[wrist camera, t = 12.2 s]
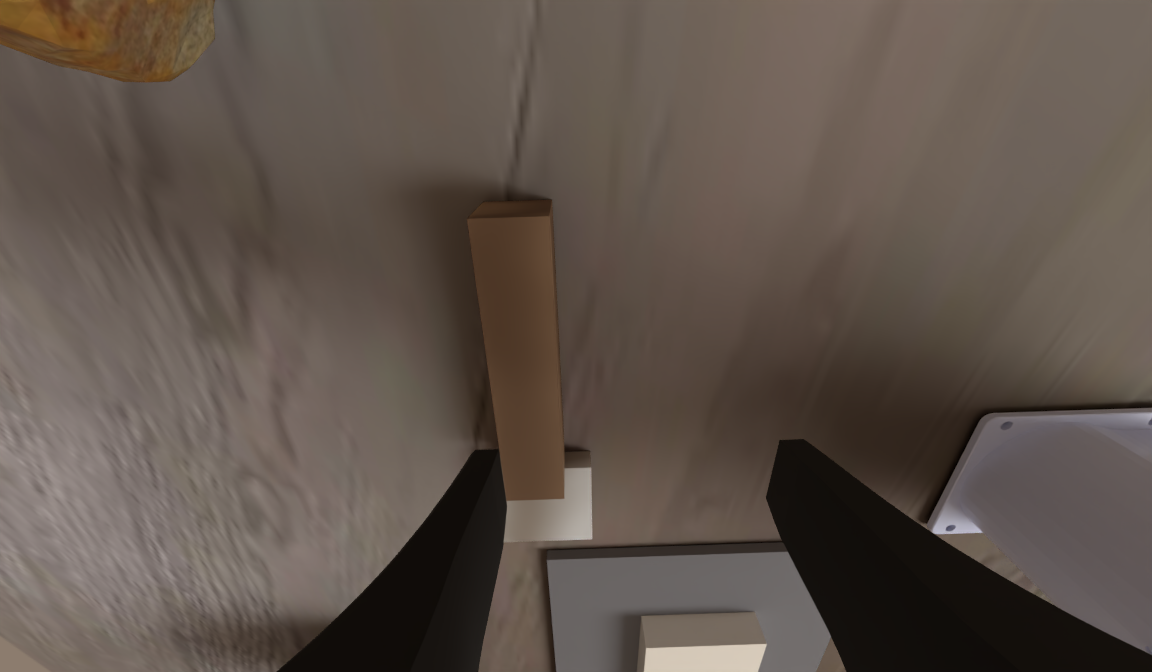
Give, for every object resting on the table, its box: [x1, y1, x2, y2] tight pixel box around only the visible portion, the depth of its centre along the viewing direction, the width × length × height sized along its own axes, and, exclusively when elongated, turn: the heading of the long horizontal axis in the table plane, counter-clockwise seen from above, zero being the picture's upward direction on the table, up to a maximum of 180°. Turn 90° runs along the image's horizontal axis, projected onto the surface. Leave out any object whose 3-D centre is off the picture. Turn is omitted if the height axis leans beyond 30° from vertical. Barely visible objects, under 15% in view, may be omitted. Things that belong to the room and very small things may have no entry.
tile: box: [637, 612, 767, 672], centre depth 28 cm, size 7×2×9 cm
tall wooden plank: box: [467, 200, 592, 542], centre depth 18 cm, size 5×17×3 cm, turn 2°
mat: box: [547, 542, 831, 672], centre depth 28 cm, size 18×17×1 cm
